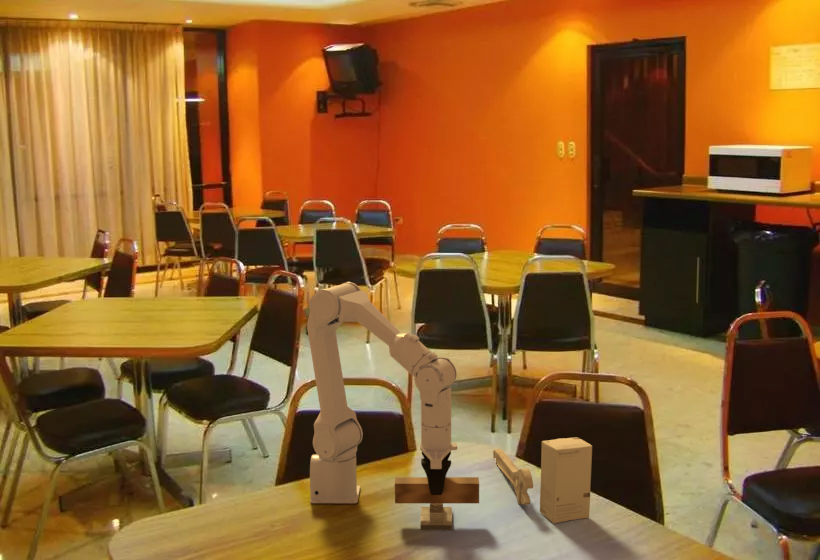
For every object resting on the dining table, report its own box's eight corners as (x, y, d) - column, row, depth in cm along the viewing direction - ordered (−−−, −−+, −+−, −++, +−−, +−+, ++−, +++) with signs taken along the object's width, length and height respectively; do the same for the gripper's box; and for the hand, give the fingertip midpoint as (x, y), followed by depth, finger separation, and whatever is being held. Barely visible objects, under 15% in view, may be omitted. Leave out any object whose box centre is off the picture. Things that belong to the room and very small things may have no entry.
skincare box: (553, 524, 171) (554, 450, 168) (538, 511, 177) (539, 440, 174) (591, 517, 174) (593, 444, 171) (575, 505, 180) (577, 434, 177)
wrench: (500, 471, 204) (534, 514, 175) (492, 472, 204) (524, 514, 174) (500, 436, 204) (533, 473, 174) (492, 437, 204) (524, 474, 174)
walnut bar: (395, 503, 171) (394, 483, 171) (395, 496, 174) (395, 477, 174) (479, 503, 171) (479, 483, 170) (478, 496, 174) (478, 477, 173)
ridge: (420, 530, 169) (420, 512, 169) (421, 511, 177) (421, 494, 177) (452, 530, 169) (452, 512, 169) (451, 511, 177) (451, 495, 176)
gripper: (458, 436, 162) (458, 506, 165) (456, 410, 177) (456, 475, 179) (419, 436, 163) (419, 506, 165) (420, 410, 177) (421, 475, 179)
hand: (436, 490), depth 172 cm, fingers closed on walnut bar, 3 cm apart
